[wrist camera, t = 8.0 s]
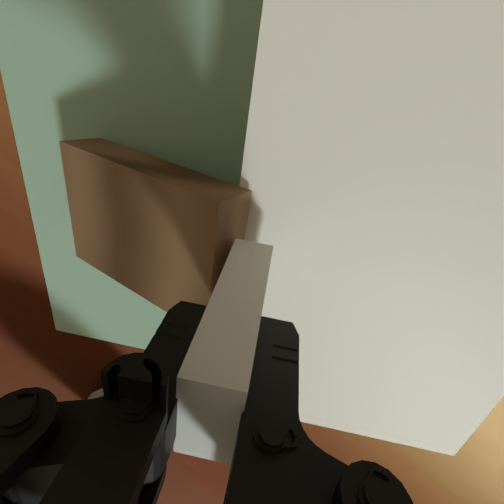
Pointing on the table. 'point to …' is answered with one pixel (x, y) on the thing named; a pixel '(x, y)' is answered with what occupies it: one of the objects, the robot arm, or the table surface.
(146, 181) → the brown wooden slab
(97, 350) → the table surface
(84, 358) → the table surface
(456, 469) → the table surface
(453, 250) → the white flat block
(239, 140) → the mat
